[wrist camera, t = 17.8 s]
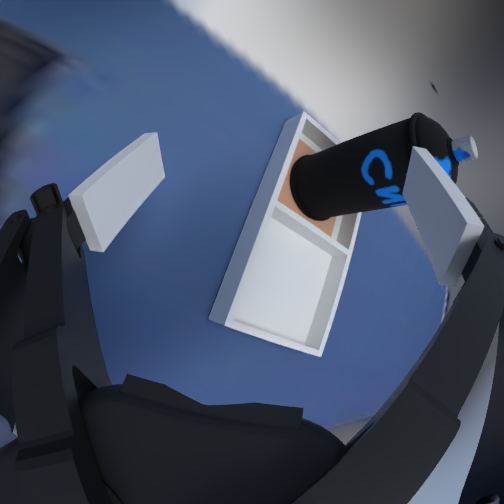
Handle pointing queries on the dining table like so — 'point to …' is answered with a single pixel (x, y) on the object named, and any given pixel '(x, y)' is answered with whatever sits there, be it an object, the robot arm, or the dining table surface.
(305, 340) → the tray
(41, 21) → the dining table surface
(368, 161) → the aerosol can
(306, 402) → the dining table surface
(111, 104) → the dining table surface
